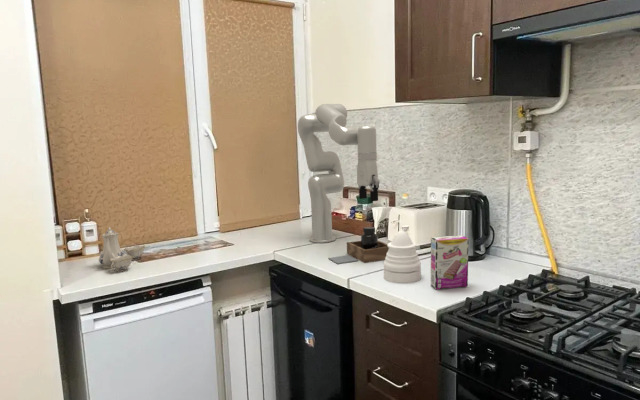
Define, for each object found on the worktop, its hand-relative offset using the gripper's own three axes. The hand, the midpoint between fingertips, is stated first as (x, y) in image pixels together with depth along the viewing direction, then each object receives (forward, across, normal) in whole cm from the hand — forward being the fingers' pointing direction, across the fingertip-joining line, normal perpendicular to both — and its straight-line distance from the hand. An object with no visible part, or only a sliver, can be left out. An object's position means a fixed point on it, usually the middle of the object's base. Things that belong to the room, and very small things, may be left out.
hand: (368, 199), depth 197 cm
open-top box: (+24, 0, 0) cm, 24 cm away
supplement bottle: (+24, 0, 0) cm, 24 cm away
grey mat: (+24, 0, -12) cm, 26 cm away
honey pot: (+24, +31, -4) cm, 39 cm away
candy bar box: (+24, +47, +4) cm, 53 cm away
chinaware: (+24, -40, -95) cm, 106 cm away
